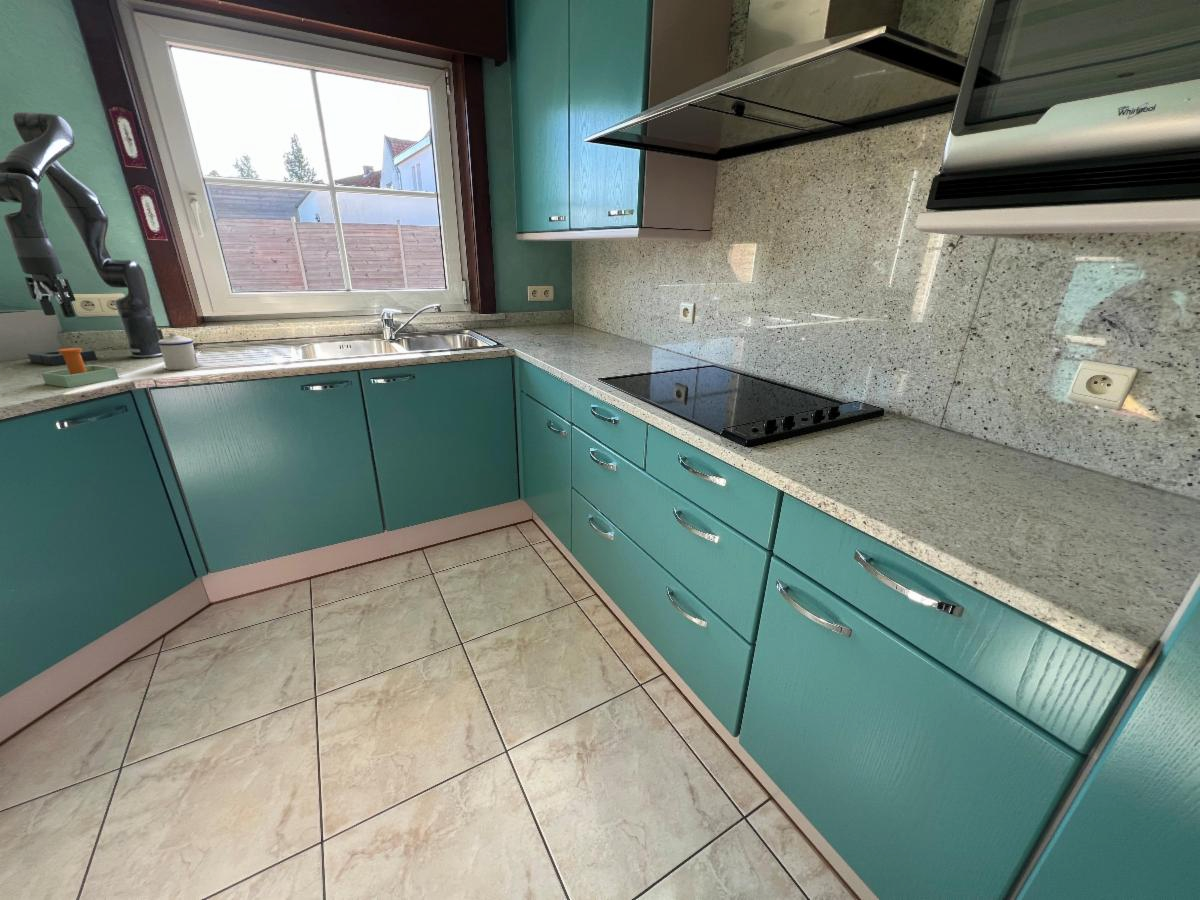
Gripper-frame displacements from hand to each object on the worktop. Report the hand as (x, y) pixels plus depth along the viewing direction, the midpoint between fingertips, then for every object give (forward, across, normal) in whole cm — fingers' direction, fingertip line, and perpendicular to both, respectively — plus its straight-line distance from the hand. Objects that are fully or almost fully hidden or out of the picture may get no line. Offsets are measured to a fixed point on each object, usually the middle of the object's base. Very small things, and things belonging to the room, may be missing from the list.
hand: (60, 316), depth 140 cm
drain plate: (+19, +37, -14) cm, 45 cm away
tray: (+19, 0, +1) cm, 19 cm away
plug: (+18, -1, +1) cm, 18 cm away
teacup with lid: (+19, -6, -23) cm, 31 cm away
